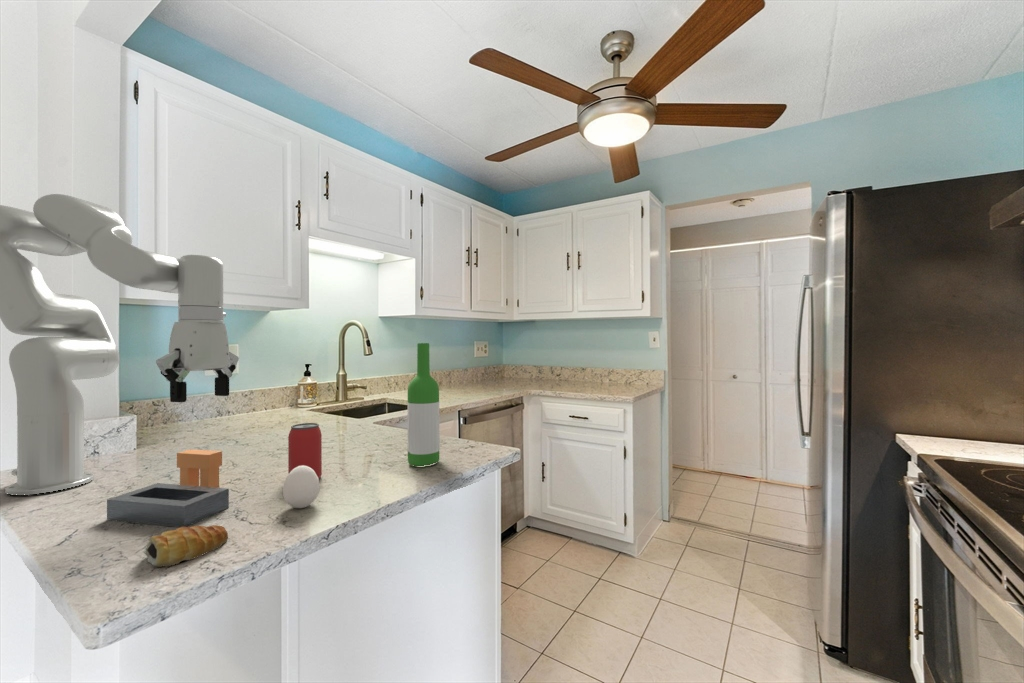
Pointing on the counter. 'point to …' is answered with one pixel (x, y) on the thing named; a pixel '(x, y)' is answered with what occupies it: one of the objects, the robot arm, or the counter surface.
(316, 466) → the beer can
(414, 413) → the wine bottle
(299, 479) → the egg
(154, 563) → the pastry
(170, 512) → the gray rectangular frame
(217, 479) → the tall orange stepped block
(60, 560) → the counter surface
